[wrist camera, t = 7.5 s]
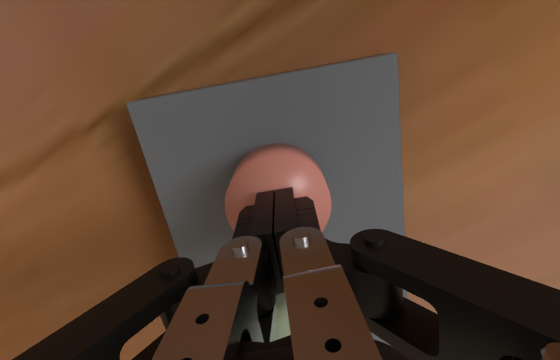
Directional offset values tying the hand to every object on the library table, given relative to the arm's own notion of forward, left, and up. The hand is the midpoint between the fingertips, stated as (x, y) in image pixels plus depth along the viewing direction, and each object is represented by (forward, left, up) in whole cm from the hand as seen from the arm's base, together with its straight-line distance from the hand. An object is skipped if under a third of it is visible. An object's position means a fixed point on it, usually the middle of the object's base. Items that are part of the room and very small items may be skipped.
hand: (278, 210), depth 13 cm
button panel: (+8, 0, -5) cm, 9 cm away
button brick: (0, 0, -2) cm, 2 cm away
